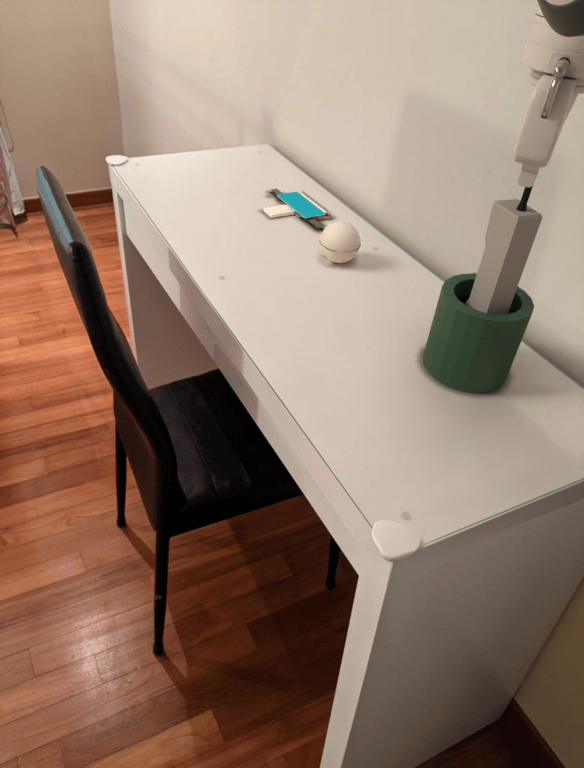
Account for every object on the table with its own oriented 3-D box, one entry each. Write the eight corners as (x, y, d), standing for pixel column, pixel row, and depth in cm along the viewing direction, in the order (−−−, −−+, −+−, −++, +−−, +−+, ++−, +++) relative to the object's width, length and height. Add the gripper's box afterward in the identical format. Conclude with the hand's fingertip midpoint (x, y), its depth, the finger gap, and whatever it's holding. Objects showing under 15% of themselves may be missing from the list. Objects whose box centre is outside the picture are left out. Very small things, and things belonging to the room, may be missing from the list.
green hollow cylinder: (512, 357, 93) (539, 288, 85) (498, 403, 84) (527, 331, 76) (434, 333, 96) (453, 265, 88) (413, 375, 87) (432, 303, 79)
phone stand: (245, 195, 131) (246, 188, 130) (293, 189, 136) (294, 181, 135) (291, 235, 118) (292, 227, 117) (342, 226, 123) (343, 218, 122)
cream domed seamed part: (310, 254, 113) (314, 216, 108) (345, 249, 116) (350, 212, 111) (335, 280, 106) (341, 241, 102) (372, 274, 109) (379, 236, 104)
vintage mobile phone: (480, 310, 87) (540, 130, 72) (502, 329, 84) (569, 144, 68) (459, 314, 86) (514, 131, 70) (479, 333, 83) (542, 146, 67)
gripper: (595, 74, 55) (543, 219, 64) (605, 42, 70) (561, 163, 79) (524, 62, 57) (483, 204, 66) (548, 33, 72) (512, 152, 80)
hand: (526, 181), depth 72 cm, fingers closed on vintage mobile phone
